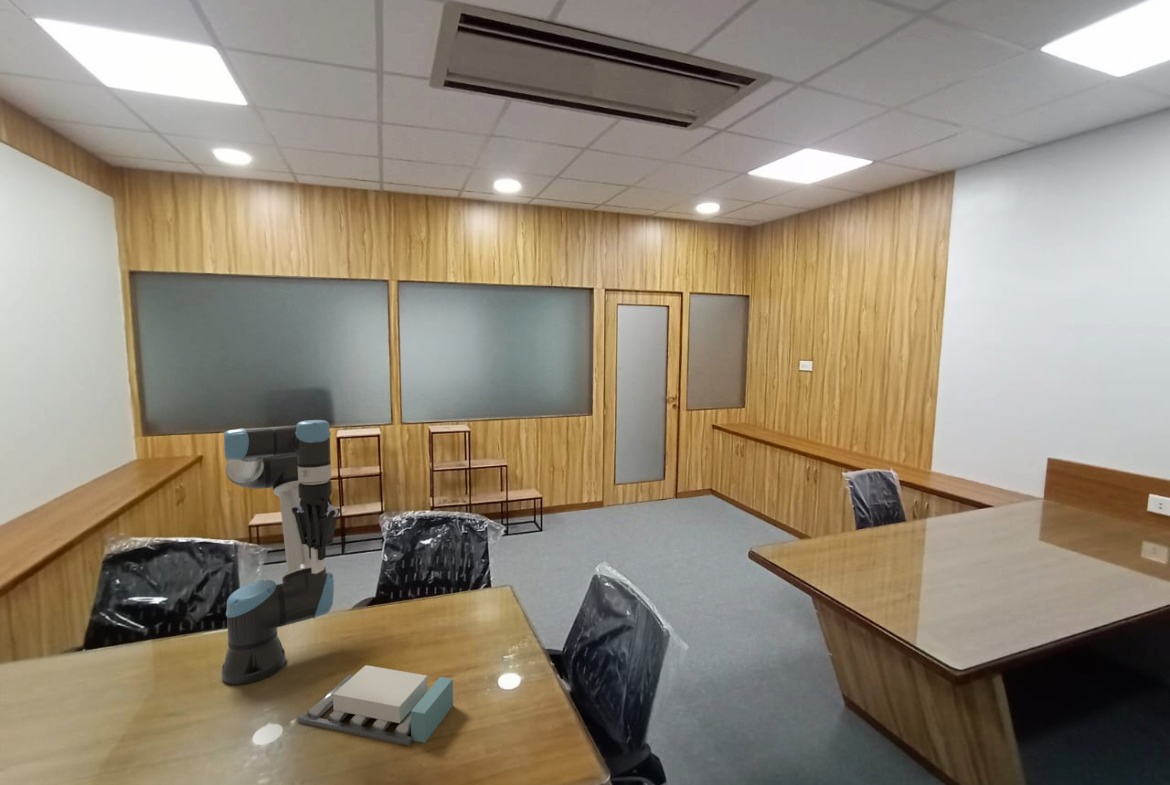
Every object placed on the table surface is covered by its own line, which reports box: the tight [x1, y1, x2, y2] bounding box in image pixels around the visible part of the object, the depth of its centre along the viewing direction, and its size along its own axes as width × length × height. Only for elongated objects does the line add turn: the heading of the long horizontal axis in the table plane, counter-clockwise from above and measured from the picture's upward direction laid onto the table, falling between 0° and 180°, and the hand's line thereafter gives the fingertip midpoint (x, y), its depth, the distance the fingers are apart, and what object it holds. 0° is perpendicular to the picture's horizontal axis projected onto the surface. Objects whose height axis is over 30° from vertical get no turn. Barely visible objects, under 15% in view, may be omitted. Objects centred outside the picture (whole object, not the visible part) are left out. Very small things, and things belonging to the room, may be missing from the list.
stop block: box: [410, 676, 454, 744], centre depth 124 cm, size 4×13×7 cm, turn 166°
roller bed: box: [297, 674, 427, 747], centre depth 128 cm, size 16×30×3 cm, turn 76°
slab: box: [332, 664, 429, 724], centre depth 127 cm, size 18×12×4 cm, turn 76°
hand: (317, 571), depth 133 cm, fingers closed
